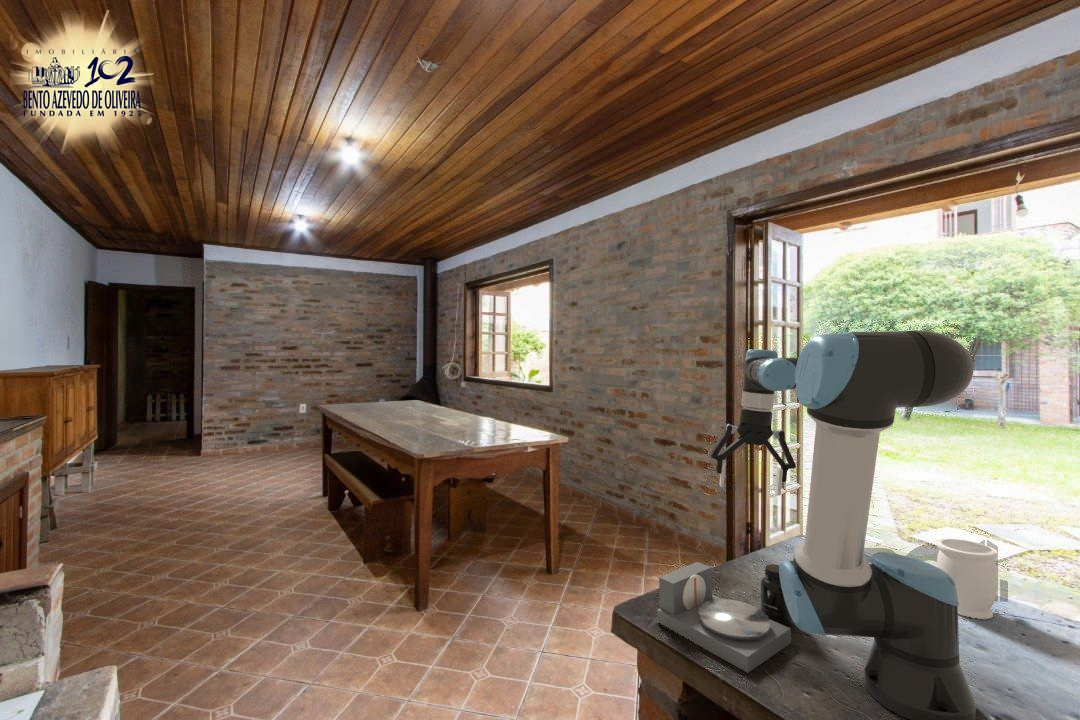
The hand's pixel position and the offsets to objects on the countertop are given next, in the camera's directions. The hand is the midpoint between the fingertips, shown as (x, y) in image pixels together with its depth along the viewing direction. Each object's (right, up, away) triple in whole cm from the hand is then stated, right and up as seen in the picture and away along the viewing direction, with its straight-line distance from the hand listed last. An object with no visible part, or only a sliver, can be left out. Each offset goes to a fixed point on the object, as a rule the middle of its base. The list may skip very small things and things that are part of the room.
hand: (749, 489), depth 122 cm
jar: (+45, -25, -13) cm, 53 cm away
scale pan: (-13, -22, -22) cm, 34 cm away
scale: (-15, -26, -20) cm, 36 cm away
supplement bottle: (-1, -26, -16) cm, 30 cm away
